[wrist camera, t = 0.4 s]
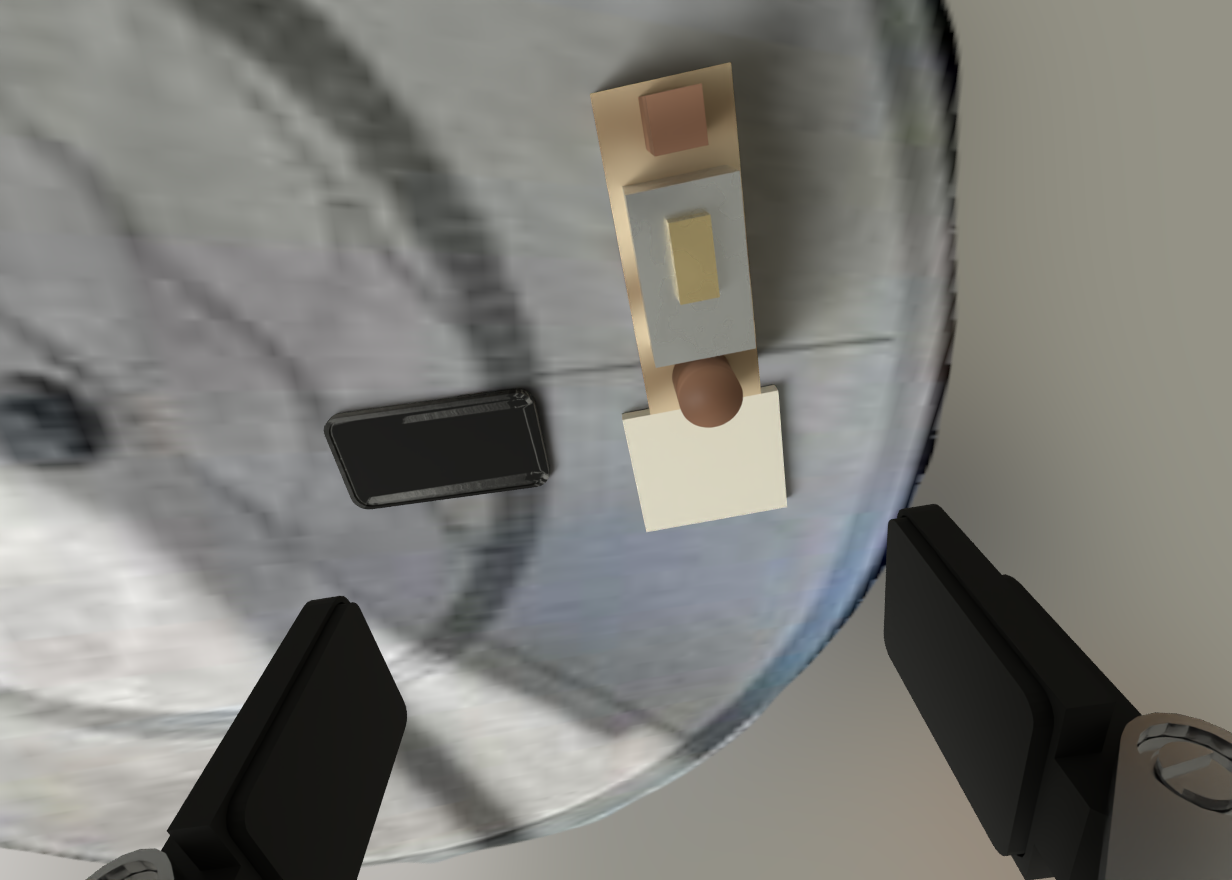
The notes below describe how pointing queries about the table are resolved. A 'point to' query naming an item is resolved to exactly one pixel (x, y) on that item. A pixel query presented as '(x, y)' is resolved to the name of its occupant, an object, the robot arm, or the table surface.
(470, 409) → the phone
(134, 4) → the table surface
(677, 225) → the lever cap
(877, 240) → the table surface
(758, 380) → the body
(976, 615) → the robot arm
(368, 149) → the table surface
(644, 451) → the felt mat
